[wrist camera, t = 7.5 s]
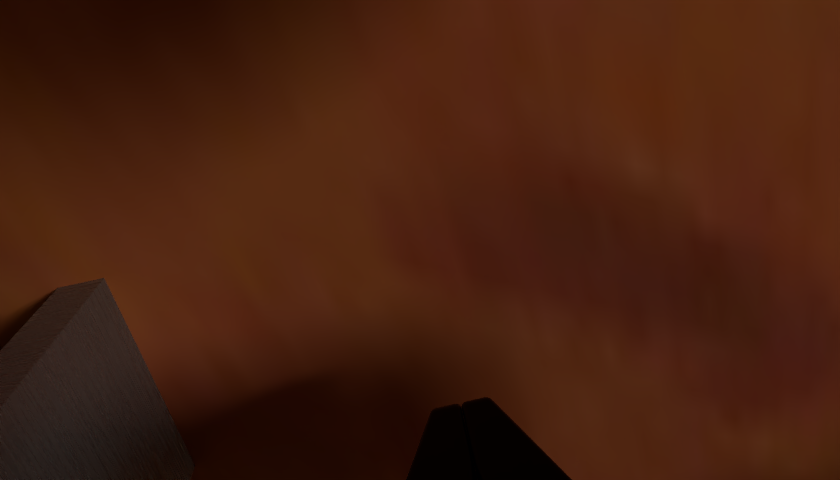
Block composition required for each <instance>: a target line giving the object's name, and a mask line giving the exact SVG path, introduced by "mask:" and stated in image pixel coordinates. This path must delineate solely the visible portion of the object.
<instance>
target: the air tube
mask: <svg viewBox="0 0 840 480" xmlns="http://www.w3.org/2000/svg"><path fill="white" fill-rule="evenodd" d="M194 467H195V464H194V462H193V460H192V458H191V456H190V454H189V452H188V450H187V448H186V445H185V443H184V441H183V439H182V437H181V435H180V433H179V431H178V429H177V427H176V425H175V423H174V421H173V419H172V417H171V415H170V413H169V411H168V408H167V406H166V404H165V402H164V400H163V398H162V396H161V394H160V392H159V390H158V388H157V386H156V384H155V382H154V380H153V378H152V376H151V374H150V371H149V369H148V367H147V365H146V363H145V361H144V359H143V357H142V355H141V353H140V351H139V349H138V347H137V345H136V343H135V341H134V339H133V337H132V334H131V332H130V330H129V328H128V326H127V324H126V322H125V320H124V318H123V316H122V314H121V312H120V310H119V308H118V306H117V304H116V302H115V300H114V297H113V295H112V293H111V291H110V289H109V287H108V285H107V283H106V281H105V279H104V278H102V279H97V280H92V281H88V282H83V283H78V284H74V285H69V286H64V287H60V288H57V289H56V290H55V291H54V293H53V294H52V295H51V296H50V297H49V298H48V299H47V300H46V301H45V302H44V303H43V305H42V306H41V307H40V308H39V309H38V310H37V311H36V312H35V313H34V314H33V316H32V317H31V318H30V319H29V320H28V321H27V322H26V323H25V324H24V325H23V326H22V328H21V329H20V330H19V331H18V332H17V333H16V334H15V335H14V336H13V337H12V338H11V340H10V341H9V342H8V343H7V344H6V345H5V346H4V347H3V348H2V349H1V350H0V480H191V477H192V474H193V470H194Z"/></svg>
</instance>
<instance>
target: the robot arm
mask: <svg viewBox="0 0 840 480" xmlns="http://www.w3.org/2000/svg"><path fill="white" fill-rule="evenodd" d="M462 412H463V414H462ZM463 417H464V418H463ZM464 421H465V422H464ZM465 426H466V427H465ZM466 430H467V431H466ZM467 435H468V436H467ZM468 439H469V440H468ZM469 444H470V445H469ZM470 448H471V449H470ZM472 457H473V458H472ZM474 466H475V467H474ZM476 475H477V476H476ZM406 480H571V479H570V478H569V477H568V476H567V475H566V474H565V473H564V471H563V470H562V469H561V468H560V467H559V466H558V465H557V464H556V463H555V462H554V461H553V460H552V459H551V458H550V457H549V456H548V455H547V454H546V453H545V452H544V451H543V450H542V449H541V448H540V447H539V446H538V445H537V444H536V443H535V442H534V441H533V440H532V439H531V438H530V437H529V436H528V435H527V434H526V433H525V432H524V431H523V430H522V429H521V428H520V427H519V426H518V425H517V424H516V423H515V422H514V421H513V420H512V419H511V418H510V417H509V416H508V415H507V414H506V413H505V412H504V411H503V410H502V409H501V408H500V407H499V406H498V405H497V404H496V403H495V402H494V401H493V400H491V399H490V398H488V397H484V398H480V399H475V400H471V401H466V402H464V403H463V404H462V409H461V406H460V405H458V404H453V405H448V406H444V407H439V408H435V409H433V410H432V411H431V413H430V416H429V418H428V421H427V424H426V426H425V429H424V432H423V435H422V437H421V440H420V443H419V446H418V448H417V451H416V454H415V457H414V459H413V462H412V465H411V468H410V470H409V473H408V476H407V479H406Z"/></svg>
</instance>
